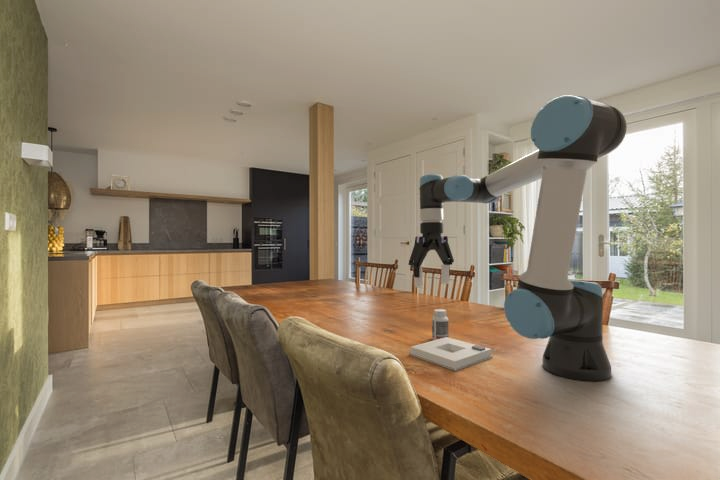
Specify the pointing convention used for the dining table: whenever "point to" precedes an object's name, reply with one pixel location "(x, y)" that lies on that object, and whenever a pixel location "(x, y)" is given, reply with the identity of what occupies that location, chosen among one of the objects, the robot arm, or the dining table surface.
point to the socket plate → (451, 353)
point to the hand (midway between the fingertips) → (432, 285)
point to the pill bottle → (439, 324)
